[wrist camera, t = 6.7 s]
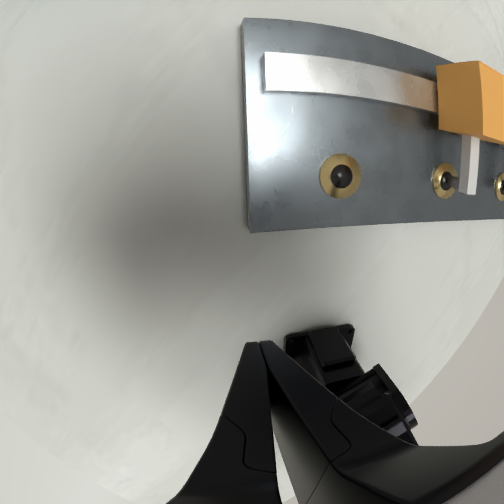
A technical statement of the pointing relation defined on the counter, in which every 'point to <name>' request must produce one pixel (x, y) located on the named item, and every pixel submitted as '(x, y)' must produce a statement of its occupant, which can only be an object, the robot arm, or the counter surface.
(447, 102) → the divider leg
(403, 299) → the counter surface
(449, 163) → the hole plate
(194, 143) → the counter surface
